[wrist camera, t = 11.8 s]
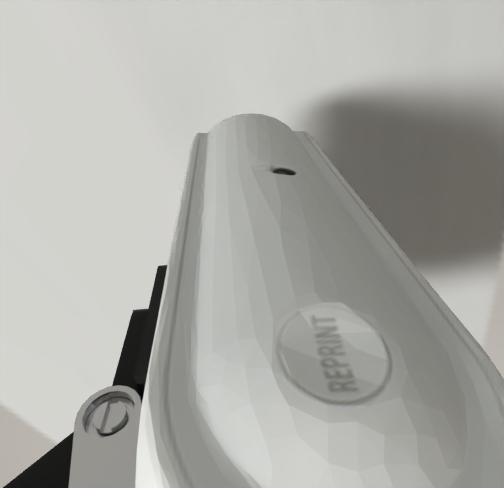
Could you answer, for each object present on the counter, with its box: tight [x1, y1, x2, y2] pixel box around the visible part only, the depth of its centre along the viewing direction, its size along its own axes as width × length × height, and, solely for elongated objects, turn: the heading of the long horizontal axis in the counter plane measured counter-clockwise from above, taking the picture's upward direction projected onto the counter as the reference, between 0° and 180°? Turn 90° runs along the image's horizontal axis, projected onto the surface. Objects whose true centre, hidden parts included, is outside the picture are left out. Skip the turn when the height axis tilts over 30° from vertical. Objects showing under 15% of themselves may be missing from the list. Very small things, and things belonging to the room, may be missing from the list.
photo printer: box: [135, 114, 504, 488], centre depth 9 cm, size 10×4×12 cm, turn 0°
